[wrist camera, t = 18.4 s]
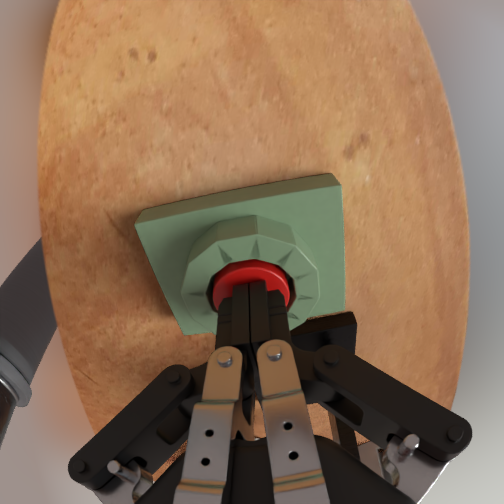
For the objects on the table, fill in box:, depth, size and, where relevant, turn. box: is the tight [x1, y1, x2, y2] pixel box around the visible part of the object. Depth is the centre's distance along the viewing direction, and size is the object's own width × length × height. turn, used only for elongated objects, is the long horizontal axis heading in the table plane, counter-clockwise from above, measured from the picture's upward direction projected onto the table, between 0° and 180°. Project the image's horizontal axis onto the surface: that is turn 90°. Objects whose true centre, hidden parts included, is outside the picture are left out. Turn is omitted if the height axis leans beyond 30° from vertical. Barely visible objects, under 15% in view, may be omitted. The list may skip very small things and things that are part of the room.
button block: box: [134, 173, 345, 335], centre depth 16 cm, size 10×8×4 cm
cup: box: [358, 441, 420, 504], centre depth 33 cm, size 9×9×12 cm
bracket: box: [254, 312, 361, 461], centre depth 18 cm, size 10×8×13 cm
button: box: [213, 259, 290, 310], centre depth 15 cm, size 4×4×2 cm
